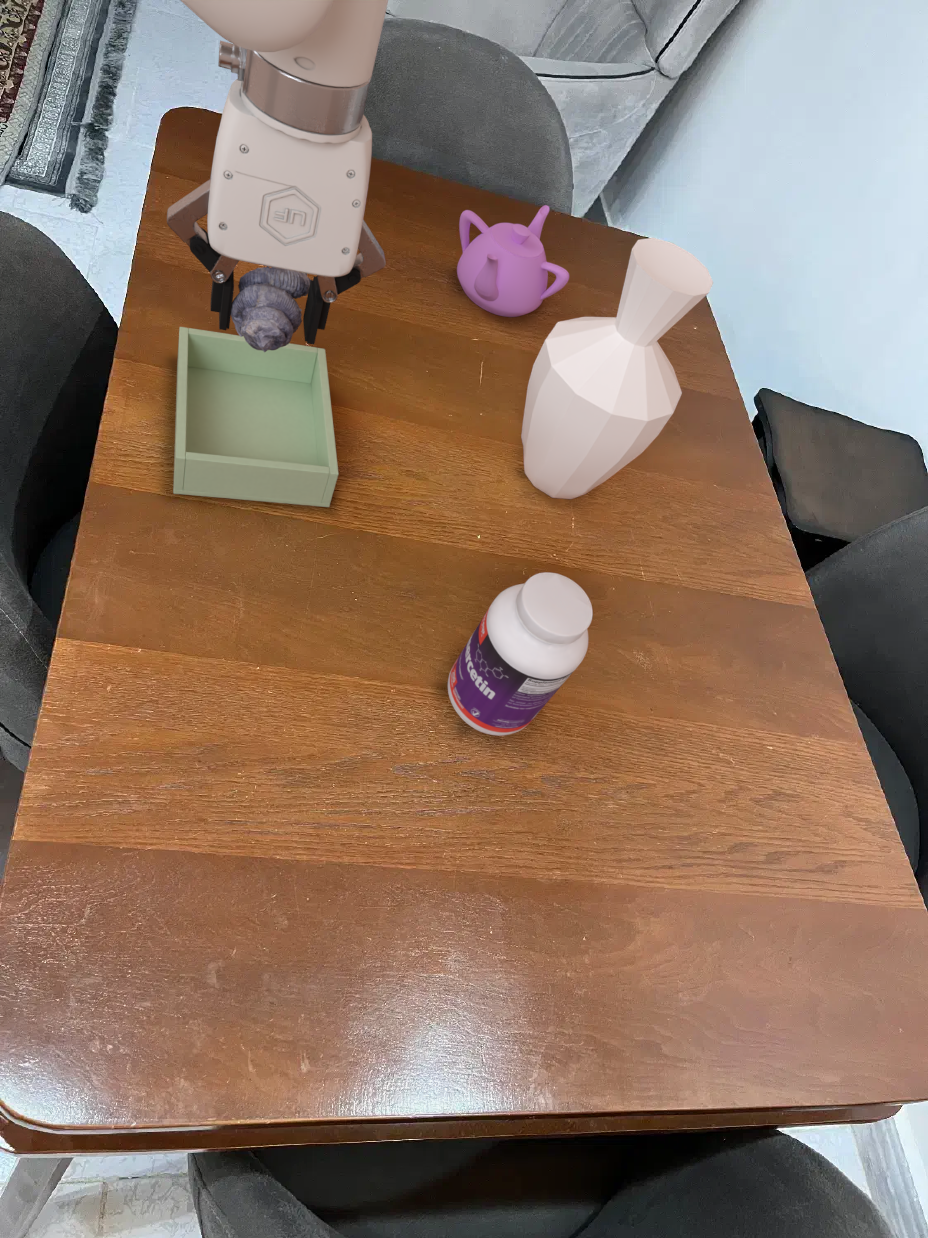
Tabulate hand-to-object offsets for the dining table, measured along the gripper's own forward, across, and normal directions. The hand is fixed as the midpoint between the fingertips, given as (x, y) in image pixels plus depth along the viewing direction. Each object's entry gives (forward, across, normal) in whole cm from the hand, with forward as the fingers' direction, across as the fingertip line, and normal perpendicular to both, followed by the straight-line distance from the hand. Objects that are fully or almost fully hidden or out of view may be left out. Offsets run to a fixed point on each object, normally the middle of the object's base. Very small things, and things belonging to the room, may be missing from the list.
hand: (267, 323), depth 65 cm
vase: (+15, +33, +4) cm, 36 cm away
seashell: (+1, 0, 0) cm, 1 cm away
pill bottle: (+15, +20, -25) cm, 35 cm away
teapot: (+15, +32, +34) cm, 48 cm away
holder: (+15, +1, +3) cm, 16 cm away
